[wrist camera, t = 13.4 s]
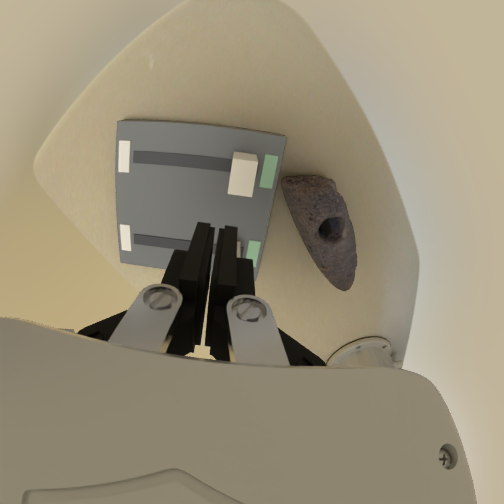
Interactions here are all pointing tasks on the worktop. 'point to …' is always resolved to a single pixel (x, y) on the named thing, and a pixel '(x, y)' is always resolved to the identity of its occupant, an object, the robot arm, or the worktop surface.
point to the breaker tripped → (243, 174)
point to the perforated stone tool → (323, 226)
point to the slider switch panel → (189, 187)
